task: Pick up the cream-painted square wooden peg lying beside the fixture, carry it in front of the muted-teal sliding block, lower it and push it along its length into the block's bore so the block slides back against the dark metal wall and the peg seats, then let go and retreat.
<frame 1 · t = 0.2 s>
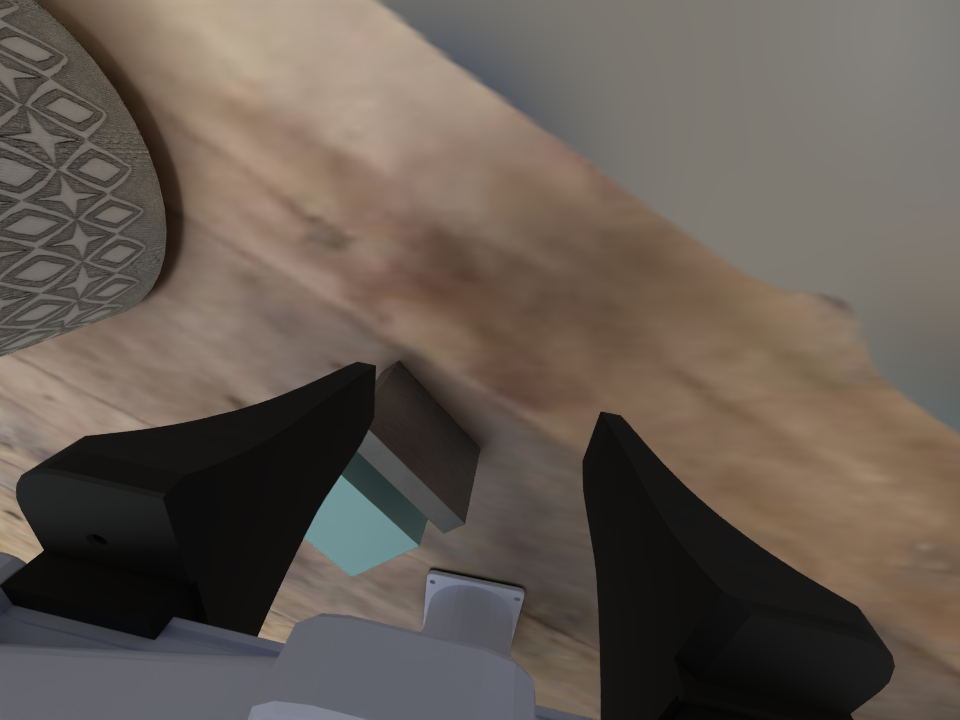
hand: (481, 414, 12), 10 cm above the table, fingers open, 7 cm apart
wall: (432, 412, 25), on the table
block: (350, 482, 25), point 3 cm above the table, slide at 0.0 cm
planter: (45, 166, 21), on the table
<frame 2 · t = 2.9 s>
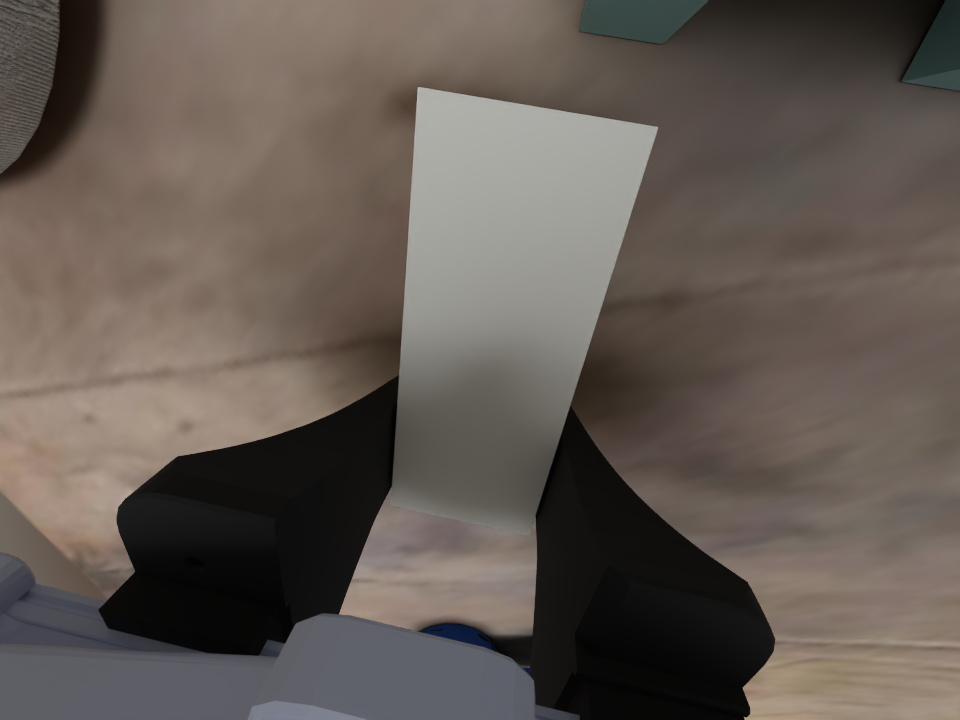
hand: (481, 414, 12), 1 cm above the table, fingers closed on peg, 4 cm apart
toy: (541, 642, 21), on the table
peg: (502, 308, 12), on the table, touching gripper
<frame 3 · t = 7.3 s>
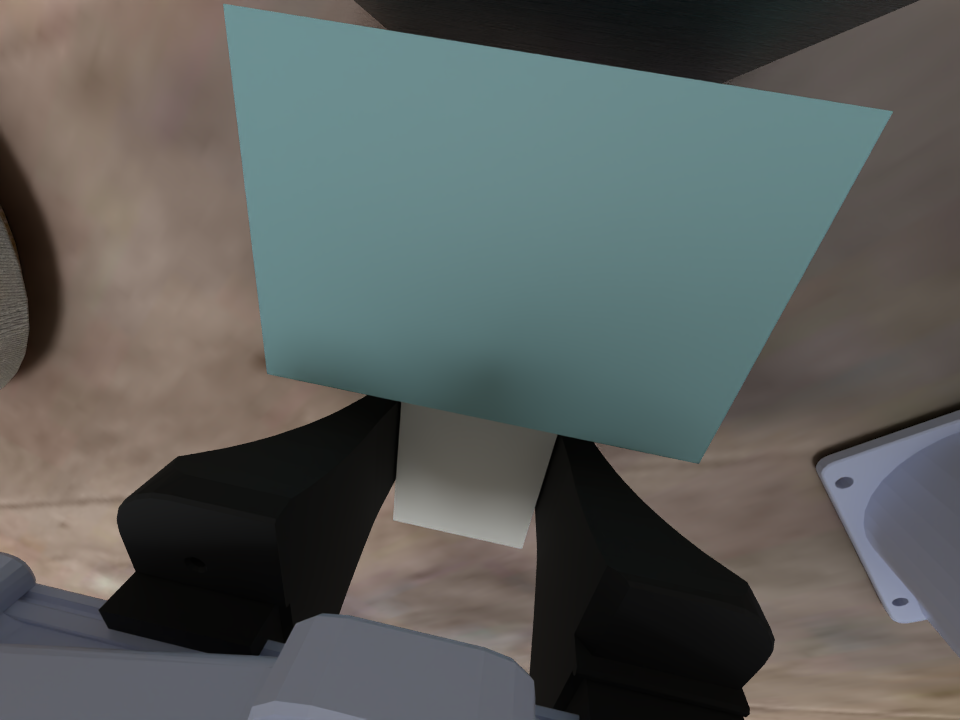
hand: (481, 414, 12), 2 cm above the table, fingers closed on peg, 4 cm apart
peg: (497, 334, 13), on the table, touching block, gripper
wall: (558, 20, 9), on the table
block: (513, 244, 9), point 3 cm above the table, slide at 1.5 cm, touching peg
when the fingers open (2 cm above the table, at t = 8.4 s): peg stays where it is, on the table.
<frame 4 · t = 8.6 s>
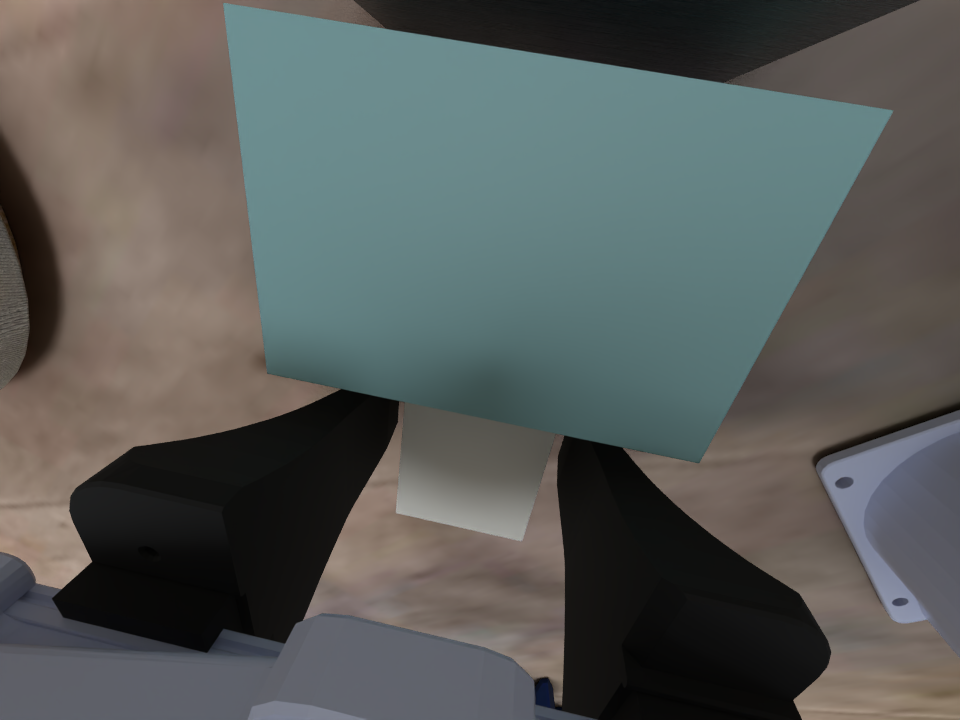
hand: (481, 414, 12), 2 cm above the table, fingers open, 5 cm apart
toy: (444, 690, 26), on the table
peg: (499, 331, 13), on the table
wall: (558, 20, 9), on the table
block: (513, 243, 9), point 3 cm above the table, slide at 1.5 cm
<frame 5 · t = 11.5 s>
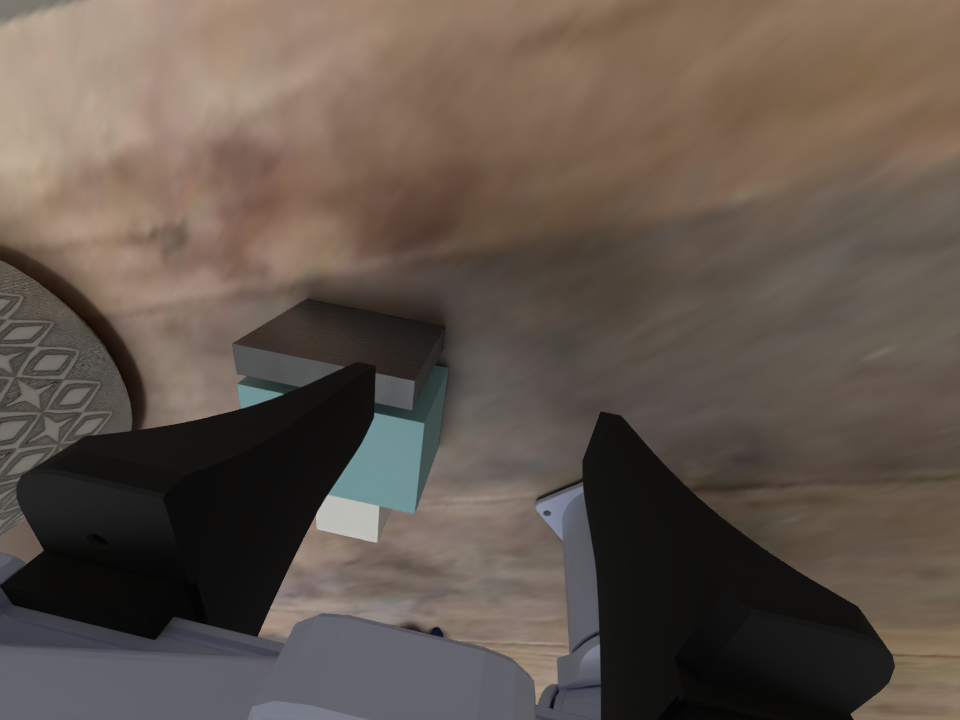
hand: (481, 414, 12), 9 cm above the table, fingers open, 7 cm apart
peg: (372, 435, 26), on the table
wall: (374, 325, 22), on the table
block: (353, 420, 22), point 3 cm above the table, slide at 1.5 cm
planter: (37, 358, 27), on the table
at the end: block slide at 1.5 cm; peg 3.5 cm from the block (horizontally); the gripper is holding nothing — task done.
